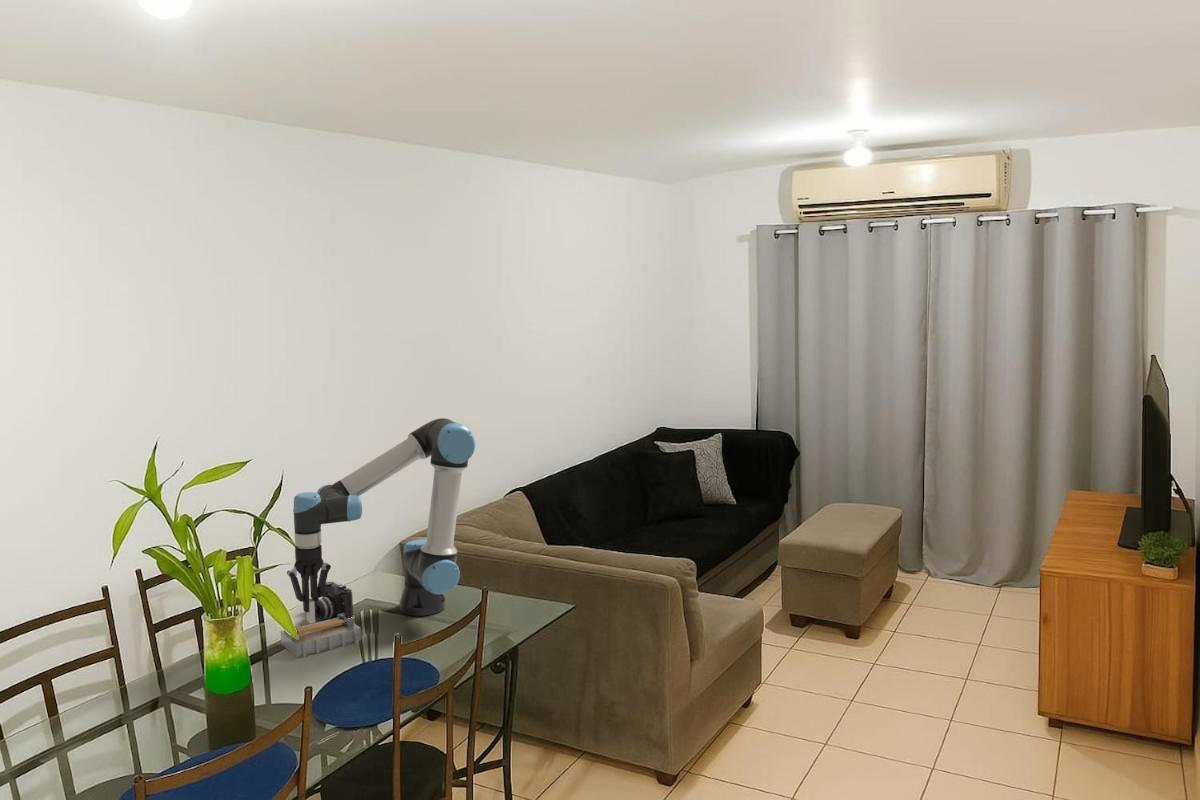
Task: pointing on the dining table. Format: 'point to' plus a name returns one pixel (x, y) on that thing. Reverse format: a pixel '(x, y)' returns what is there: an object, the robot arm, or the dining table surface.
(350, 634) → the heatsink
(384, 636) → the dining table surface
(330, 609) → the camera
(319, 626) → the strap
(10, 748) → the dining table surface
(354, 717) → the dining table surface
